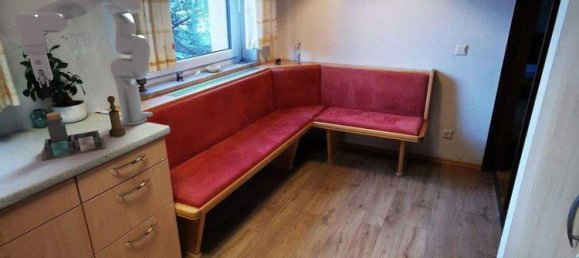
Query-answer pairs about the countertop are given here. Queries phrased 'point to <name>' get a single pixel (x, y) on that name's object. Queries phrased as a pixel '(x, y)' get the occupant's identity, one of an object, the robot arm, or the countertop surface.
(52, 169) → the countertop surface
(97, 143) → the socket block
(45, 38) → the robot arm
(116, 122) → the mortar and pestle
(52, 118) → the bottle
